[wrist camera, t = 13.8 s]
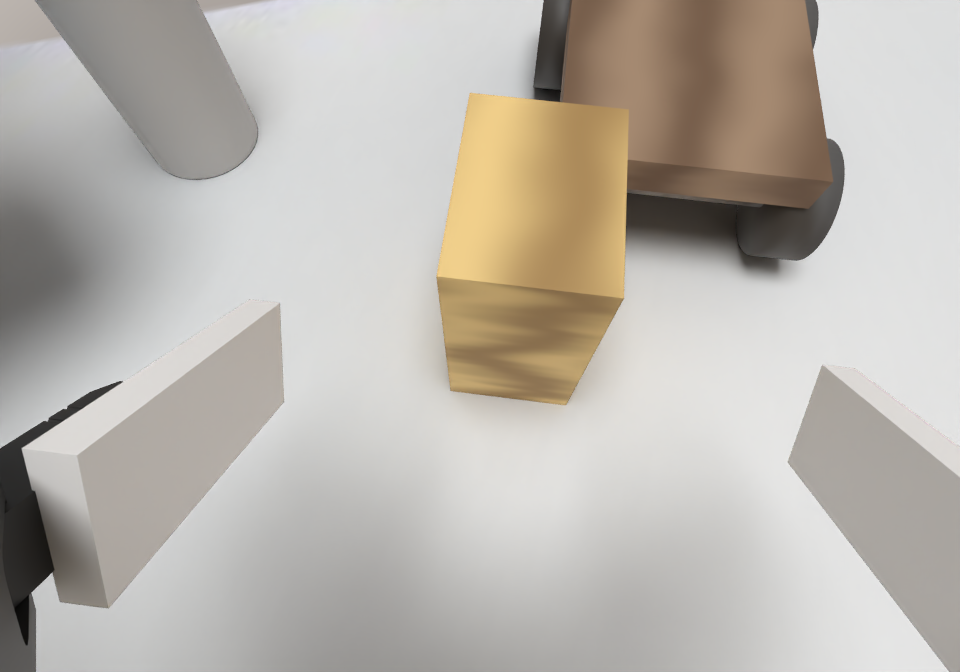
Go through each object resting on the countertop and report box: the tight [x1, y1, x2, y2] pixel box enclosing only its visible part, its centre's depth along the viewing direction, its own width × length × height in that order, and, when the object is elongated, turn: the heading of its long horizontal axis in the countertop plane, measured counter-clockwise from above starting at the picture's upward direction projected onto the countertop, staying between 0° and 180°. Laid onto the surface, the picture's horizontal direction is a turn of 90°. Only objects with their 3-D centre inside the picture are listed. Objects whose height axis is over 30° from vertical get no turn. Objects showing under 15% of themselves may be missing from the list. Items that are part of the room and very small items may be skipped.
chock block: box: [437, 93, 629, 405], centre depth 25 cm, size 6×8×12 cm
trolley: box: [533, 0, 844, 261], centre depth 32 cm, size 15×17×8 cm
